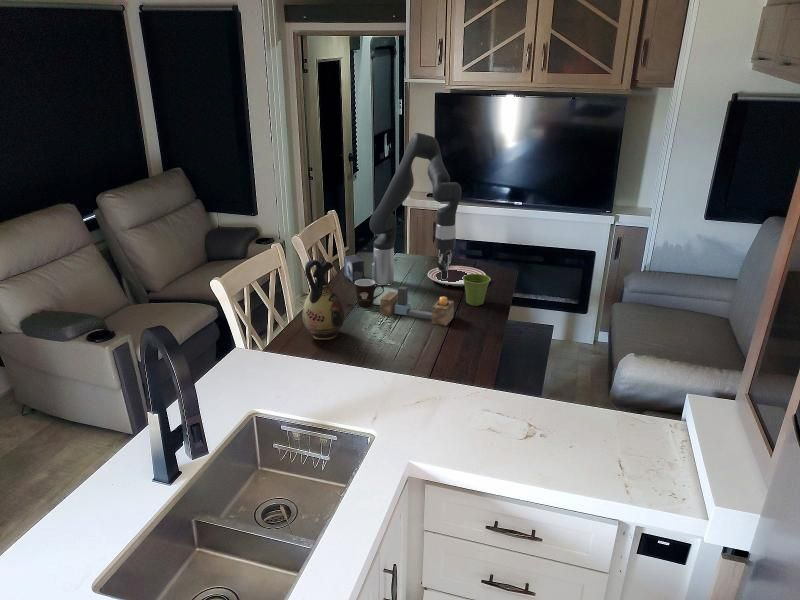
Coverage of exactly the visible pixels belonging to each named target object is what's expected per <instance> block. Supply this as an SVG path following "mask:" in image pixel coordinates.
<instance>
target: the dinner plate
mask: <svg viewBox="0 0 800 600" xmlns="http://www.w3.org/2000/svg"><path fill="white" fill-rule="evenodd" d="M448 270H457V271H462V272H465V273H467V274H482V275H486V276H487V274H486V273H485V272H484V271H482V270H480V269H478V268H475V267H471V266H463V265H450V267H449V269H448ZM439 272H441V270H439V268H438V267H435V268H432V269H431V270H429V271H428V273H427V277H428V278H430V280H432V281H433V282H436V283H438V284H441V285H444V284H445V285H444V286H448V285H452V286H451V287H465V285H464V280H459V281H456V282H448V281H441V280H438V279H437V277H436V274H437V273H439Z"/></svg>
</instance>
